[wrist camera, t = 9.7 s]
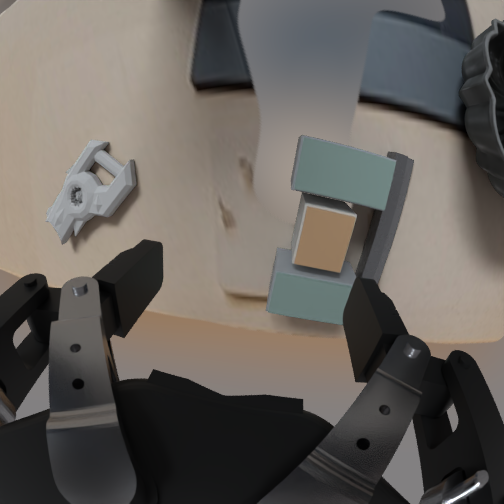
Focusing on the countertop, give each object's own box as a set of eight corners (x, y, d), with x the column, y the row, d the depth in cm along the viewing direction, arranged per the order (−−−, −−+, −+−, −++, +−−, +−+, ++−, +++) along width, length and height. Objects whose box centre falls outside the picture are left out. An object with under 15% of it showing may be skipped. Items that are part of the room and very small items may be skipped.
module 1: (298, 137, 27) (302, 134, 21) (376, 156, 27) (398, 160, 21) (290, 181, 29) (291, 190, 23) (367, 198, 29) (385, 212, 23)
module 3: (277, 247, 32) (274, 272, 26) (349, 261, 32) (361, 288, 26) (269, 283, 34) (265, 313, 28) (337, 296, 34) (345, 327, 28)
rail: (388, 151, 26) (396, 152, 24) (411, 159, 26) (421, 161, 24) (344, 304, 34) (347, 315, 32) (365, 307, 34) (370, 318, 32)
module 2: (302, 192, 29) (305, 204, 23) (344, 201, 29) (358, 216, 23) (291, 241, 32) (291, 265, 26) (331, 250, 32) (341, 274, 26)
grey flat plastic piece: (71, 265, 34) (37, 218, 32) (84, 257, 37) (51, 213, 35) (137, 175, 28) (93, 122, 26) (150, 172, 32) (108, 123, 30)
